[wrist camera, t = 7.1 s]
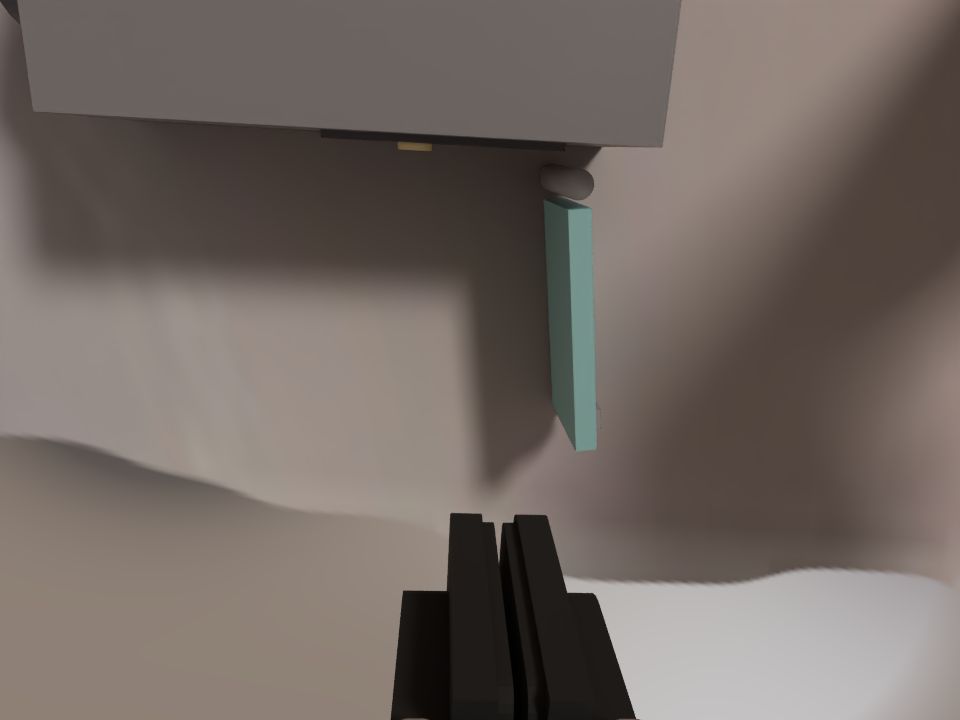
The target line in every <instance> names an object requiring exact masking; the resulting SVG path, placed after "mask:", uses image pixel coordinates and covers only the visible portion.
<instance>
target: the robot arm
mask: <svg viewBox="0 0 960 720" xmlns="http://www.w3.org/2000/svg"><path fill="white" fill-rule="evenodd" d="M391 720H639V719H636V717H635V714H634V711H633V708H632V704H631V701H630V698H629V695H628V692H627V689H626V686H625V683H624V680H623V677H622V674H621V670H620V667H619V664H618V661H617V658H616V655H615V652H614V649H613V645H612V642H611V639H610V636H609V633H608V630H607V627H606V624H605V621H604V617H603V614H602V611H601V608H600V605H599V602H598V600H597V598H596V596H595V595H594V594H593V593H567V591H566V587H565V583H564V579H563V575H562V571H561V567H560V563H559V560H558V556H557V552H556V548H555V544H554V540H553V536H552V533H551V529H550V525H549V521H548V518H547V516H546V515H515V516H514V522H513V523H503V525H502V534H501V547H500V560H499V561H498V553H497V545H496V536H495V528H494V523H493V522H482V514H468V513H451V514H450V532H449V554H448V576H447V591H403V597H402V607H401V617H400V628H399V638H398V648H397V659H396V669H395V680H394V690H393V702H392V711H391Z"/></svg>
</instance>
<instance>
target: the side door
mask: <svg viewBox="0 0 960 720" xmlns="http://www.w3.org/2000/svg"><path fill="white" fill-rule="evenodd" d="M539 180H540V183H541V185H542V187H543V188H545V189H546V190H549V191H552V192H555V193H557V194H560V195H563V196H566V197H568V198H571V199H574V200H583V199H585V198H587V197H588V196H589V195H590V194H591V193H592V191H593V188H594V180H593V177H592V175H591V174H590V173H589V172H588V171H586V170H583V169H576V168H569V167H563V166H556V165H549V166H546V167H545V168H544V169H543V170H542V171H541V173H540V177H539ZM544 220H545V243H546V266H547V289H548V312H549V335H550V358H551V381H552V404H553V407H554V409H555V411H556V413H557V415H558V417H559V419H560V421H561V423H562V425H563V427H564V429H565V431H566V433H567V435H568V437H569V439H570V441H571V443H572V445H573V447H574V449H575V451H576V452H578V451H587V450H597V439H596V429H601V409H600V408H599V406H598V405H597V403H596V392H595V345H594V298H593V251H592V208H589V207H587V206H584V205H581V204H579V203H576V202H573V201H571V200H568V199H565V198H553V199H544Z"/></svg>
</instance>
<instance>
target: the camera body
mask: <svg viewBox="0 0 960 720" xmlns="http://www.w3.org/2000/svg"><path fill="white" fill-rule="evenodd" d="M0 1H1V3H2V4H3V6H4V7H5V9H6V10H7V11H8V13H9V14H10V15H11V16H12V17H13V18H14V19H15V20H16V21H17V22H18V23H19V24H21V30H22V37H23V44H24V51H25V58H26V65H27V72H28V79H29V86H30V93H31V100H32V107H33V111H34V112H46V113H57V114H69V115H80V116H91V117H103V118H114V119H126V120H138V121H155V122H173V123H191V124H208V125H226V126H243V127H261V128H279V129H296V130H314V131H321V137H324V138H337V139H355V140H373V141H391V142H398V149H401V150H418V151H432V144H444V145H462V146H480V147H498V148H516V149H534V150H554V151H565V145H578V146H596V147H662V146H663V138H664V131H665V123H666V115H667V108H668V100H669V92H670V84H671V77H672V69H673V61H674V54H675V46H676V38H677V31H678V23H679V15H680V8H681V0H0Z"/></svg>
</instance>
